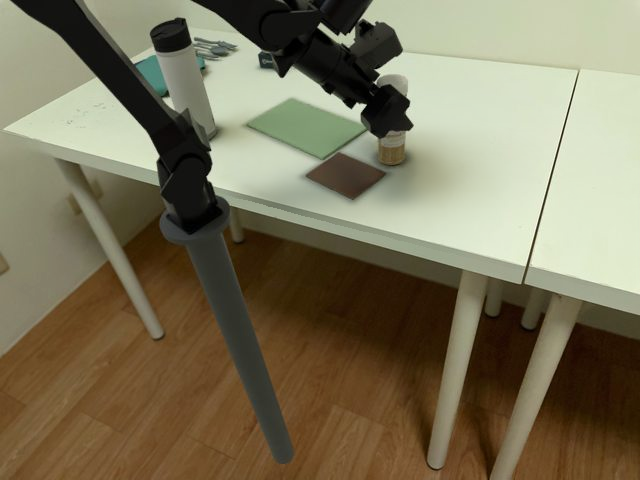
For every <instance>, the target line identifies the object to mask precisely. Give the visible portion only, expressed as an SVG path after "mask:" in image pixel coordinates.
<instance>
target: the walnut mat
mask: <svg viewBox="0 0 640 480" xmlns="http://www.w3.org/2000/svg"><path fill="white" fill-rule="evenodd" d="M386 175H387V172H386V171H385V170H383V169H380V168H377V167H375V166H373V165H371V164H369V163H365V162H363V161H361V160H359V159H357V158H354V157H352V156H350V155H347V154H345V153H342V152H341V151H338V152H336V153H335V154H333V155H332V156H331V157H329V158H328V159H326V160H325V161H323V162H322V163H320V164H319V165H317V166H316V167H315V168H313V169H312V170H310V171H309V172H307V173H306V174H305V177H306V178H308V179H310V180H312V181H314V182H316V183H318V184H320V185H322V186H324V187H327V188H328V189H331V190H332V191H334V192H336V193H338V194H340V195H343V196H345V197H346V198H348V199H350V200H355V199H356V198H358V197H359V196H360V195H361V194H363V193H364V192H365V191H367V190H368V189H370V187H372V186H373V185H374V184H375V183H376V182H378V181H380V179H382V178H383V177H384V176H386Z"/></svg>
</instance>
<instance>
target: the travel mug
mask: <svg viewBox="0 0 640 480" xmlns="http://www.w3.org/2000/svg"><path fill="white" fill-rule="evenodd" d="M149 37H150V40H151V43H152V45H153V49H154V52H155V55H156V56H157V59H158V62H159V65H160V68H161V70H162V73H163V76H164V79H165V82H166V85H167V88H168V90H167V92H168V94H169V96H170V97H169V98H170V100H171V102H172V105H173V108H174V109H173V110H175V111H177V112H178V113H182V112H183V111H184V110H185V109H186V108H189V110H190V112H191V114H192V116H193V117H194V119H195V121H196V122H197V123H199V124H200V125H202V126H203V127H204V128H205V131H206V134H207V137H208V140H209V141H210V139H212V138H214V137H215V136H216V134H217V133H218V128H217V124H216V120H215V117H214V113H213V111H212V107H211V103H210V99H209V96H208V93H207V89H206V86H205V81H204V78H203V75H202V70H201V71H200V67H199V64H198V60H197V57H196V56H197V55H196V53H195V51H196V50H195V47H194V46H193V43H194V42H193V41H192V38H191V34H190V30H189V27H188V22H187V19H186V18H185V17H179V16H176V17H175V18H173V19H169V20H166V21H163V22H160V23H158V24H157V25H155V26H154V27H153V28H152V29H151V30H150V32H149Z"/></svg>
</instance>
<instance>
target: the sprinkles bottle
mask: <svg viewBox="0 0 640 480" xmlns="http://www.w3.org/2000/svg"><path fill="white" fill-rule="evenodd" d="M375 84H376V85H377V86H378V87H379V88H380V87H381V86H383V85H387V84H391V85H392V86H394V87H395V88H396V89H397V90H399V91H400V92H401V93H402V94H403V95H404V96H405V97H408V92H409V80H408V78H407V77H406V76H405V75H402V74H399V73H389V74H385V75H384V74H383V75H381V76H379V77H378V79H377V80H376V83H375ZM405 114H406V115H407V110H406V111H405ZM406 139H407V131H389V133H388V134H387V135H386V136H385V138H382V139H379V138H377V150H378V151H377V159H378V162H379V163H381V164H383V165H387V166H395V165H399V164H401V163H402V162H404V161H405V159H406V153H405V151H406V141H407V140H406Z"/></svg>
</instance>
